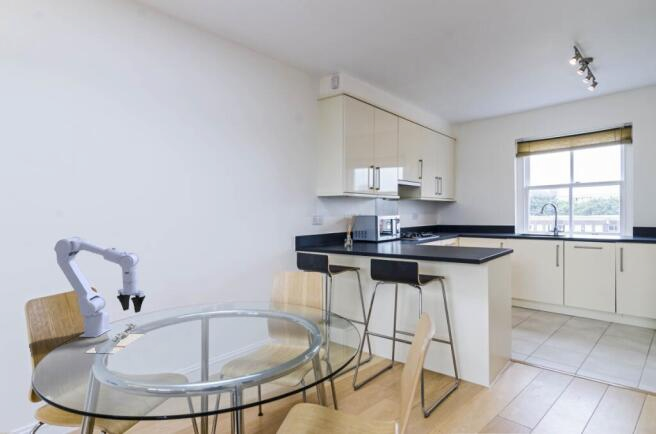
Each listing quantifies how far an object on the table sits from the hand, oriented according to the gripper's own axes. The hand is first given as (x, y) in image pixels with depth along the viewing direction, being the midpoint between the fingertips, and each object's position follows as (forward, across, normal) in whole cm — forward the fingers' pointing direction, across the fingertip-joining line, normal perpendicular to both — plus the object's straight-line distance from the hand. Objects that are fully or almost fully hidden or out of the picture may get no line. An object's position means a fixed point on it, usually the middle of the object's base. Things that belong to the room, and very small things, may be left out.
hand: (131, 311), depth 156 cm
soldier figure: (+10, +3, -6) cm, 12 cm away
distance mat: (+10, +5, -10) cm, 15 cm away
